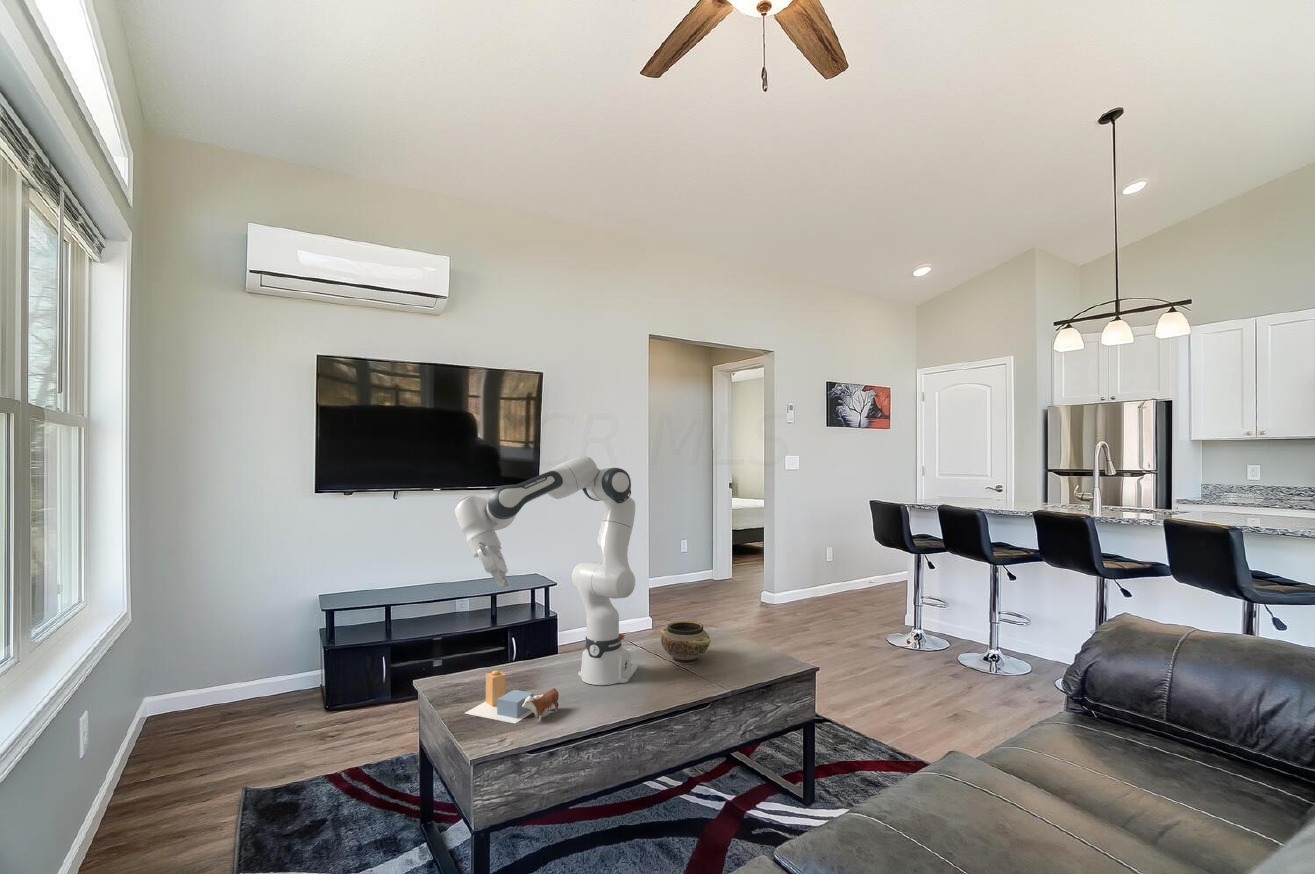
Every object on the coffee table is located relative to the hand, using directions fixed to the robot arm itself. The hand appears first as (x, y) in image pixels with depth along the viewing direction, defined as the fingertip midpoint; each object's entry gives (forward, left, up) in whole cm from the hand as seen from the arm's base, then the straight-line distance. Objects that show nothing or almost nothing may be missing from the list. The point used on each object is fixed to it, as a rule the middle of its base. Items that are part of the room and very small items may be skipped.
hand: (504, 586), depth 193 cm
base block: (+2, +6, -36) cm, 36 cm away
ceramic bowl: (-64, +34, -37) cm, 81 cm away
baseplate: (+1, +2, -37) cm, 37 cm away
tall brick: (-1, -4, -36) cm, 36 cm away
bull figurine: (+2, +15, -37) cm, 40 cm away
